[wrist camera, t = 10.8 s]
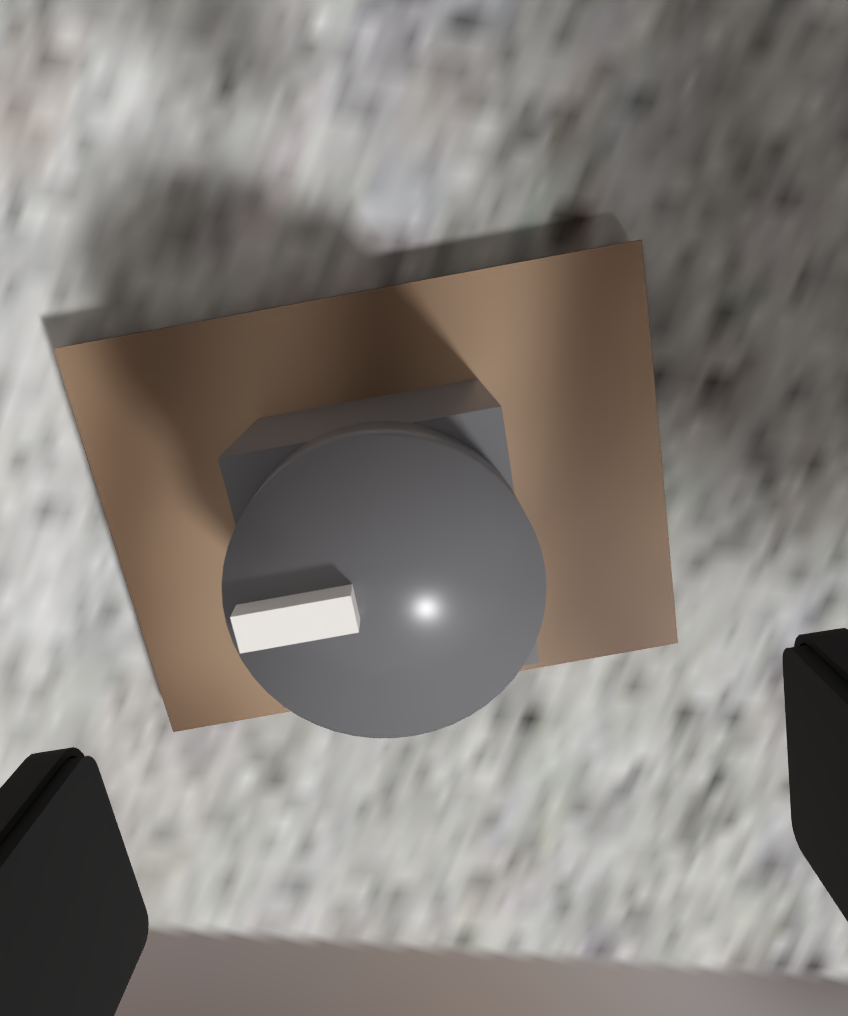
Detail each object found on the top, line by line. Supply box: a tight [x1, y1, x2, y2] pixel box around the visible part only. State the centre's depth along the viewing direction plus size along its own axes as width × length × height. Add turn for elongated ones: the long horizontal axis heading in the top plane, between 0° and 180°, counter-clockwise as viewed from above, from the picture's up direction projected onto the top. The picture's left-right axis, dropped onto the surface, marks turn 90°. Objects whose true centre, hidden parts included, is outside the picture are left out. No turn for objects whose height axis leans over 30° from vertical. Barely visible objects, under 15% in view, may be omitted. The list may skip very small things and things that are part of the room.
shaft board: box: [53, 240, 678, 732], centre depth 20 cm, size 16×12×6 cm
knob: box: [218, 378, 547, 738], centre depth 18 cm, size 7×7×7 cm
